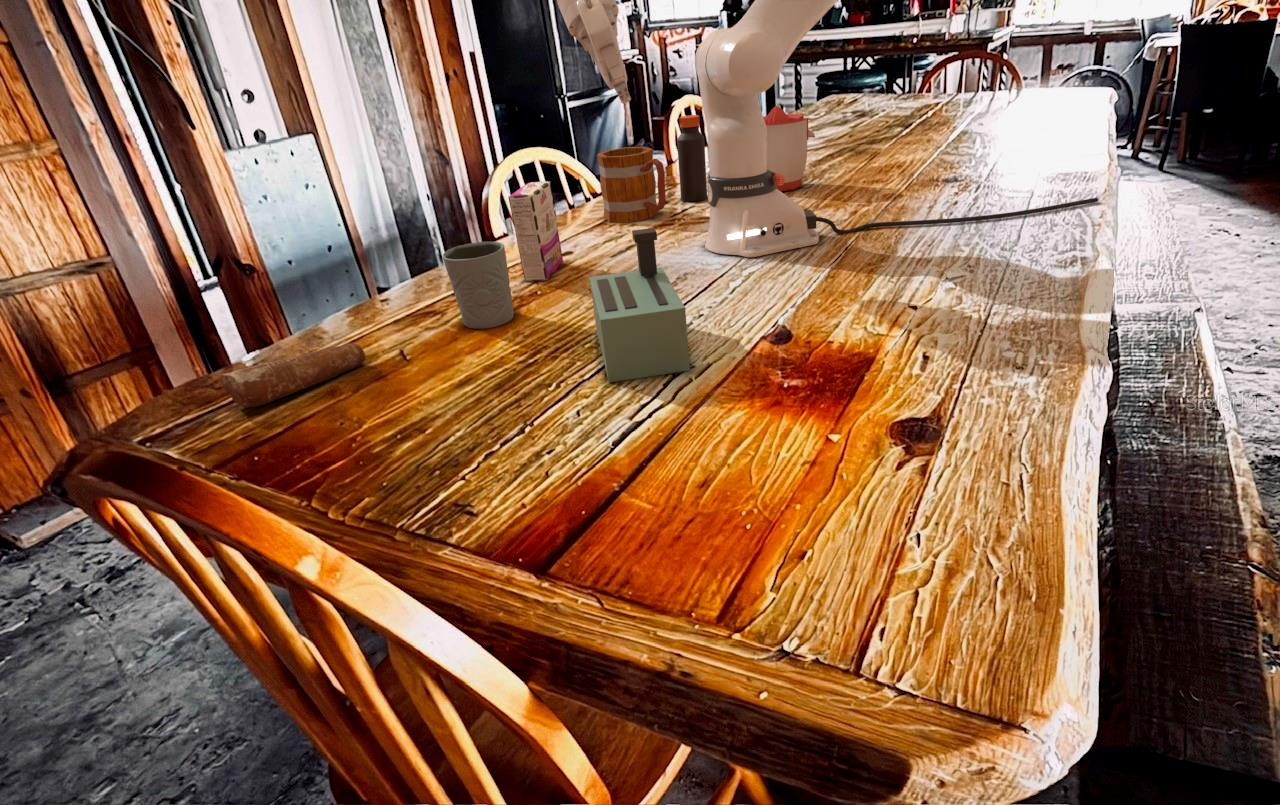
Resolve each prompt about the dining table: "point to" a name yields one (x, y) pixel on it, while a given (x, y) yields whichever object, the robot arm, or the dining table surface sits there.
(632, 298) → the toaster
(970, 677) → the dining table surface
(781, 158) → the citrus juicer
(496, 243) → the gray embossed cup
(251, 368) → the bread
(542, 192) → the candy bar box
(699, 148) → the bottle
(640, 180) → the mug
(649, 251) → the slide switch
